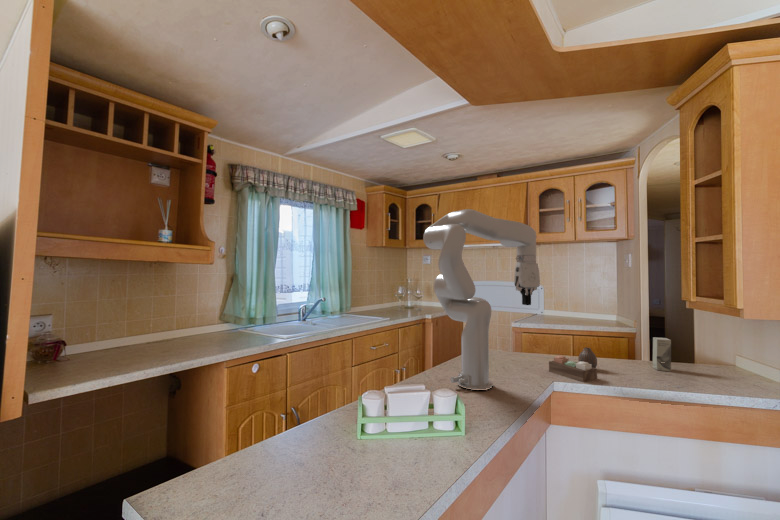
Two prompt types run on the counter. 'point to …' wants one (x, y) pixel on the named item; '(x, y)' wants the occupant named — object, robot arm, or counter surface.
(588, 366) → the cream button
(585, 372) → the brown tray
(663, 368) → the box
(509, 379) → the counter surface
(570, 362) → the sage button
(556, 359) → the terracotta button
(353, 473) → the counter surface
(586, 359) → the vase
